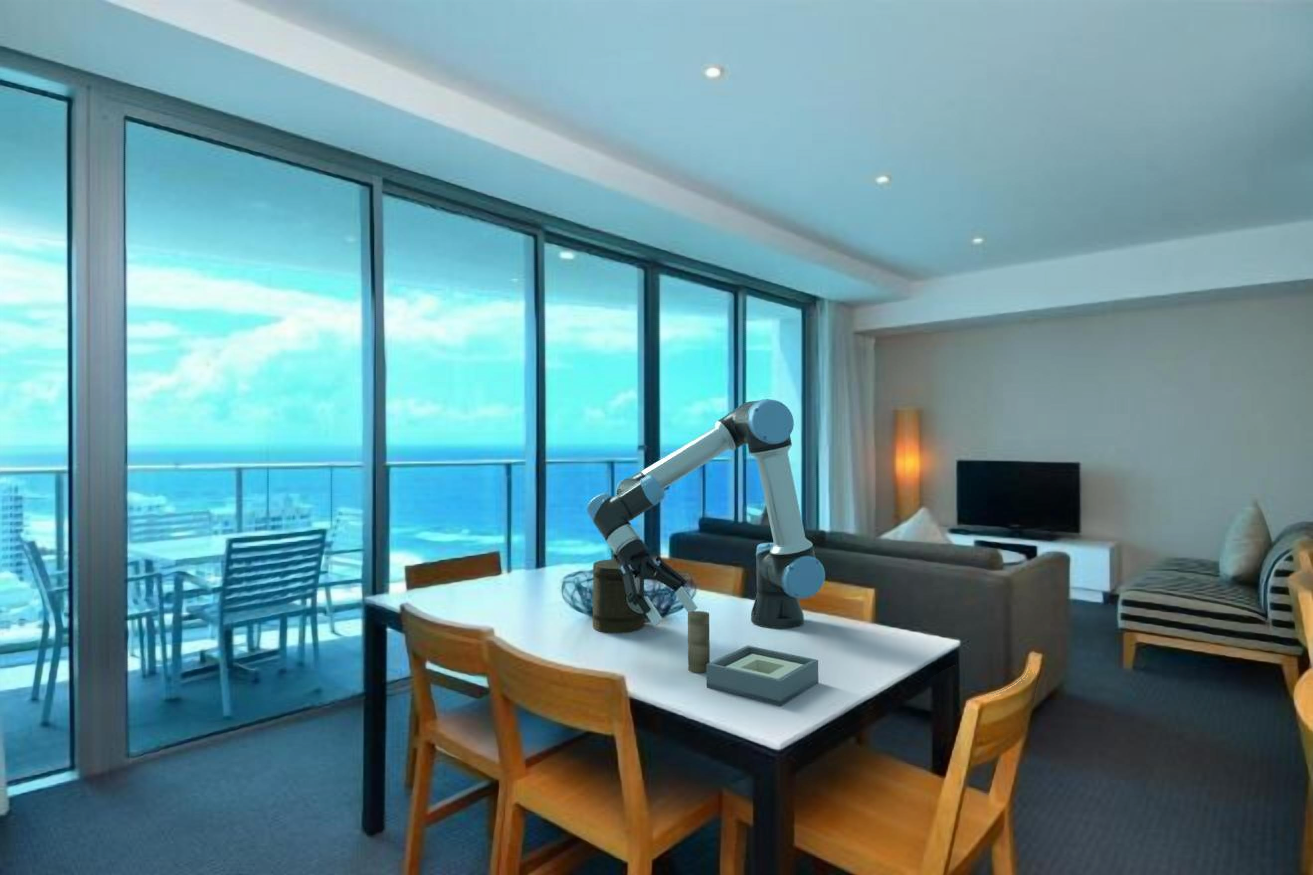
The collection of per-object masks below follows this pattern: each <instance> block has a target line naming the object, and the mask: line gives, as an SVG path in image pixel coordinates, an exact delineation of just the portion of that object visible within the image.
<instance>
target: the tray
mask: <svg viewBox="0 0 1313 875" xmlns="http://www.w3.org/2000/svg"><path fill="white" fill-rule="evenodd" d="M706 668H707V672H706V688H708V689H713V690H717V691H719V692H720V691H721V692H724V693H727V694H733V695H736V696H739V697H744V698H748V699H752V700H755V701H759V702H764V703H767V704H769V705H770V704H771V705H775V706H778V707H782V706H783V705H785V704H786V703H788V702H789V701H791V700H793V699H795V698H796V697H798V696H800V695H801V694H803V693H804V692H806V691H808V690H809V689H810V688H812V687H814V686H815V685H818V683H819V659H815V658H810V657H807V656H801V655H795V654H792V653H786V652H781V651H775V650H771V649H767V648H762V647H756V646H752V645H746V646H743V647H741V648H739V649H736V650H735V651H731V653H728V654H725V655H723V656H721V657H719V658H716V659H715V660H713V661H710V663H708V664H706Z"/></svg>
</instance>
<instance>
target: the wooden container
mask: <svg viewBox="0 0 1313 875" xmlns="http://www.w3.org/2000/svg"><path fill="white" fill-rule="evenodd" d="M611 554H612V556H613V557H612V558H610V559H601V560H598V561H595V562H594V563H593V565H592V627H593V629H594V630H596V631H597V632H601V633H605V634H606V633H608V634H623V633H624V634H625V633H633V632H637V631H639V630H641V629H643V628H644V627H645V613H644V612H643V611H642V609H641V608H640V606H639V605H638V604H637V605H636V606H635V605H633V603H630V602H628V599H627V595H626V590H625V586H624V582H623V577H622V575H621V574H620V572H619V569H620V568H621V567H622V566H623V565H622V564H621V562H620V561H619V559H618V558H617V555H616V554H615V553H614V551H613V550H612V553H611ZM643 598H645V596H644V597H643Z"/></svg>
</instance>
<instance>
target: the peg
mask: <svg viewBox="0 0 1313 875" xmlns="http://www.w3.org/2000/svg"><path fill="white" fill-rule="evenodd" d="M710 641H711V640H710V613H709V612H707V611H704V610H703V611H702V610H695V611H693V612H689V613H688V612H687V660H688V661H687V664H688V668H687V670H688V671H689V673H693V674H704V673H707V668H706V664H708V663H710V662H711V660H710V657H711V656H710V654H711V653H710V652H711V651H710V649H711V648H710V647H711V646H710V645H711V644H710Z"/></svg>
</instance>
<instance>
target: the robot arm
mask: <svg viewBox="0 0 1313 875" xmlns="http://www.w3.org/2000/svg"><path fill="white" fill-rule="evenodd" d="M794 421H795V420H794V417H793V414H792V412H791V409H789V407H788V406H787V405H785V404H784V403H783V402H781V401H779V400H775V399H769V398H764V399H759V400H751V401H747V402H745V403H742V404H740V405H739V406H738V407H736V408H734V409H733V410H732V411H731V412H729V413H727V414H726V415H724V416H723V417H721V418H720V419H719V420H717V421H715V424H714V427H712V428H710V429H708V430H707V431H705V432H703V433H702V434H700V435H699V436H697V437H695V438H693V439H692V440H690V441H689V442H688V443H685V444H684V445H682V446H680V447H679V448H677V449H675V450H674V451H672V452H670V453H669V454H666V455H665V456H663V457H662V458H661V459H659V460H657V461H656V462H654V463H653V464H651V465H649V466H647V467H646V468H644V469H643V470H641V471H640V472H638V473H635V474H634V475H633V476H631V477H628V478H624V479H622V480H621V481H619V482H618V484H617V485H616V488H615V495H614V496H612V495H611V494H609V493H608V492H603V493H601V494H597V495H596V496H595V497H593V498H592V499H591V500H590V501H589V503H588V504H587V507H586V512H587V514H588V516H589V517H590V519H591V520H592V523H593V524H594V526H595V527H596V528H597V530H598V532H599V533H600V535H601V536H602V537H603V539H604V540H605V541H606V542H607V544H608V545H609V547H610V549H611V550H612V552H613V551H614V553H615V554H616V555H617V558H618V559H619V561H620V562H621V564H622V565H623V566H622V567H621V568H620V569H619V572H620V574H621V575H622V577H623V582H624V586H625V590H626V595H627V599H628V602H630V603H633V605H635V606H636V605H637V604H638V605H639V606H640V608H641V609H642V611H643V612H644V615H646V616H647V618H648V620H649V621H650V622H651V624H652V626H653V627H657V626H658V625H659V624H660V623H661V622H662V621H663V617H662V615H661V614H660V612H659V611H658V610H657V608H656V606H654V603H653V602H652V601H651V600H650V598H649V596H645V580H647V579H648V580H649V579H652V580H656V581H658V582H660V583H662V584H663V585H665V586H667V587H668V588H670V589H672V590H673V591H675V592H674V595H675V596H676V598H677V599H678V600H679V602H680V603H681V605H682V606H683V607H684V609H685V610H686V612H687V614H688V613H689V612H693V611H697V609H698V605H697V604H696V602H694V601H693V599H692V598H691V595H690V594H689V592H688V591H687V589H686V588H685V585H686V584H687V580H686V579H685V578H684V577H683V576H682V575H680V574H679V573H678V572H677V571H676V570H674V569H673V568H672V567H670V565H668V564H667V563H666V562H665V561H664V560H663V559H662V558H661V557H660V556H659V555H657V556H656V557H655V558H653V559H652V558H651V557H650V556H649V554H650V553H649V552H650V550H649V547H648V546H647V545H646V543H645V542H644V541H643V539H641V538H640V537H641V536H640V535H639V534H638V532H637V531H636V529H635V528H634V526H633V525H632V523H630V522H631V521H633V520H634V519H635V518H637V517H639V516H640V515H642V514H644V513H645V512H646V511H648V510H650V509H651V508H653V507H655V506H657V505H658V504H659V503H660V502H661V501H662V500H664V499H665V498H666V497H665V496H666V494H665V491H664V490H665V489H666V488H667V487H669V486H671V485H673V484H674V483H676V482H677V481H679V480H681V479H682V478H684V477H686V476H687V475H688V474H690V473H692V472H694V471H695V470H697V469H699V468H700V467H702V466H704V465H706V464H708V463H709V462H710V461H712V460H713V459H715V458H718V457H719V456H720V455H722V454H724V453H725V452H727V451H731V452H732V451H735V450H737V449H739V448H740V447H743V446H745V445H747V448H748V454H749V455H751V456H753V457H754V458H755V459H756V464H757V469H758V474H759V477H760V483H761V486H762V487H761V488H762V492H763V498H764V502H765V506H766V512H767V515H768V516H767V517H768V521H769V525H770V526H769V527H770V530H771V536H772V540H773V542H764V543H763V542H762V543H759V544H758V545H757V546H756V551H755V559H756V562H755V564H756V567H755V568H756V595H755V596H756V597H755V599H754V602H753V605H752V609H751V613H750V622H751V623H752V624H754V625H756V626H759V627H764V628H769V629H771V628H773V629H789V628H791V629H792V628H796V627H800V626H802V625H803V624H804V623H805V622H804V621H805V620H804V619H805V616H804V613H803V609H802V607H801V606H802V605H801V603H800V600H804V599H809V598H811V597H814V596H815V595H817V593H819V592H820V590H821V588H822V587H823V585H824V583H825V580H826V572H825V568H824V565H823V564H822V562H820V560H819V559H818V558H816V554H815V548H814V545H813V542H812V541H811V540H809V539H808V538H806V535H805V534H806V533H805V530H804V524H803V519H802V516H801V510H800V506H799V501H798V500H799V499H798V497H797V496H798V495H797V491H796V487H795V481H794V477H793V472H792V466H791V462H790V458H789V451H790V449H791V447H792V446H793V443H792V438H791V435H792V433H793V430H794V425H795V424H794V423H795V422H794ZM643 597H644V598H643Z"/></svg>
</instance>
